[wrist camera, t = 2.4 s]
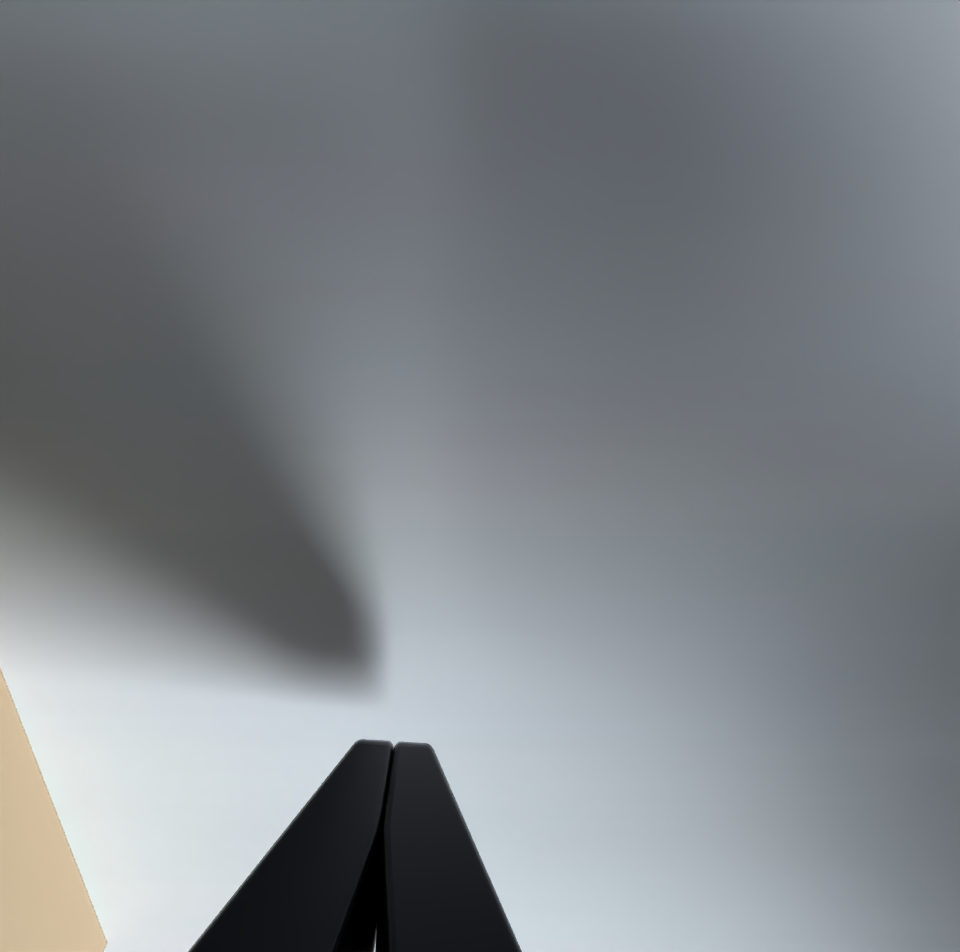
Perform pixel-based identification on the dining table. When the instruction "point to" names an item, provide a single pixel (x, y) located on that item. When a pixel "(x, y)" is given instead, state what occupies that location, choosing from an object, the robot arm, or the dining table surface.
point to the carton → (36, 856)
